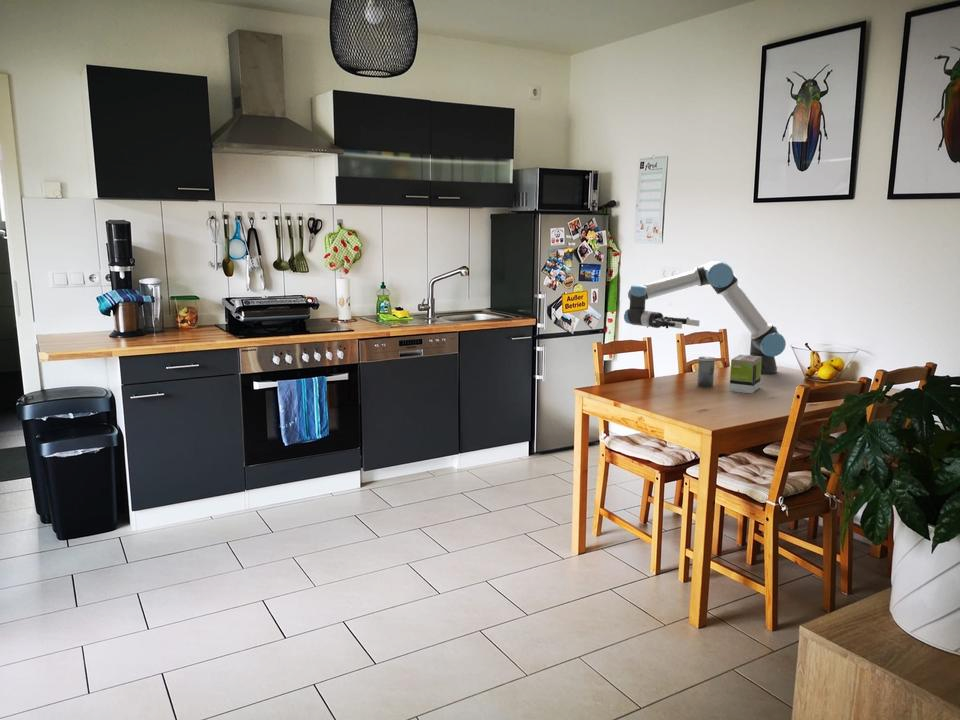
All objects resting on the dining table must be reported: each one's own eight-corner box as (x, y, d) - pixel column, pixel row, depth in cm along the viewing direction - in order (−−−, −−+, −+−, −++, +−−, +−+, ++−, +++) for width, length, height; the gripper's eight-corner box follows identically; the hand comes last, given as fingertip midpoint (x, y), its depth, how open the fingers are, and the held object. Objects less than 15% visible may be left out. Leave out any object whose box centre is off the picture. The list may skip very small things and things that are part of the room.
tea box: (737, 385, 331) (740, 353, 328) (760, 388, 326) (763, 356, 323) (728, 391, 319) (731, 358, 316) (752, 394, 313) (754, 361, 311)
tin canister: (704, 383, 334) (706, 356, 332) (716, 386, 328) (718, 358, 326) (693, 385, 331) (695, 357, 328) (705, 388, 325) (707, 359, 322)
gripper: (667, 325, 356) (705, 330, 340) (635, 329, 341) (673, 334, 325) (668, 310, 355) (706, 314, 339) (636, 313, 339) (674, 318, 323)
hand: (690, 324), depth 332 cm, fingers open, 13 cm apart
